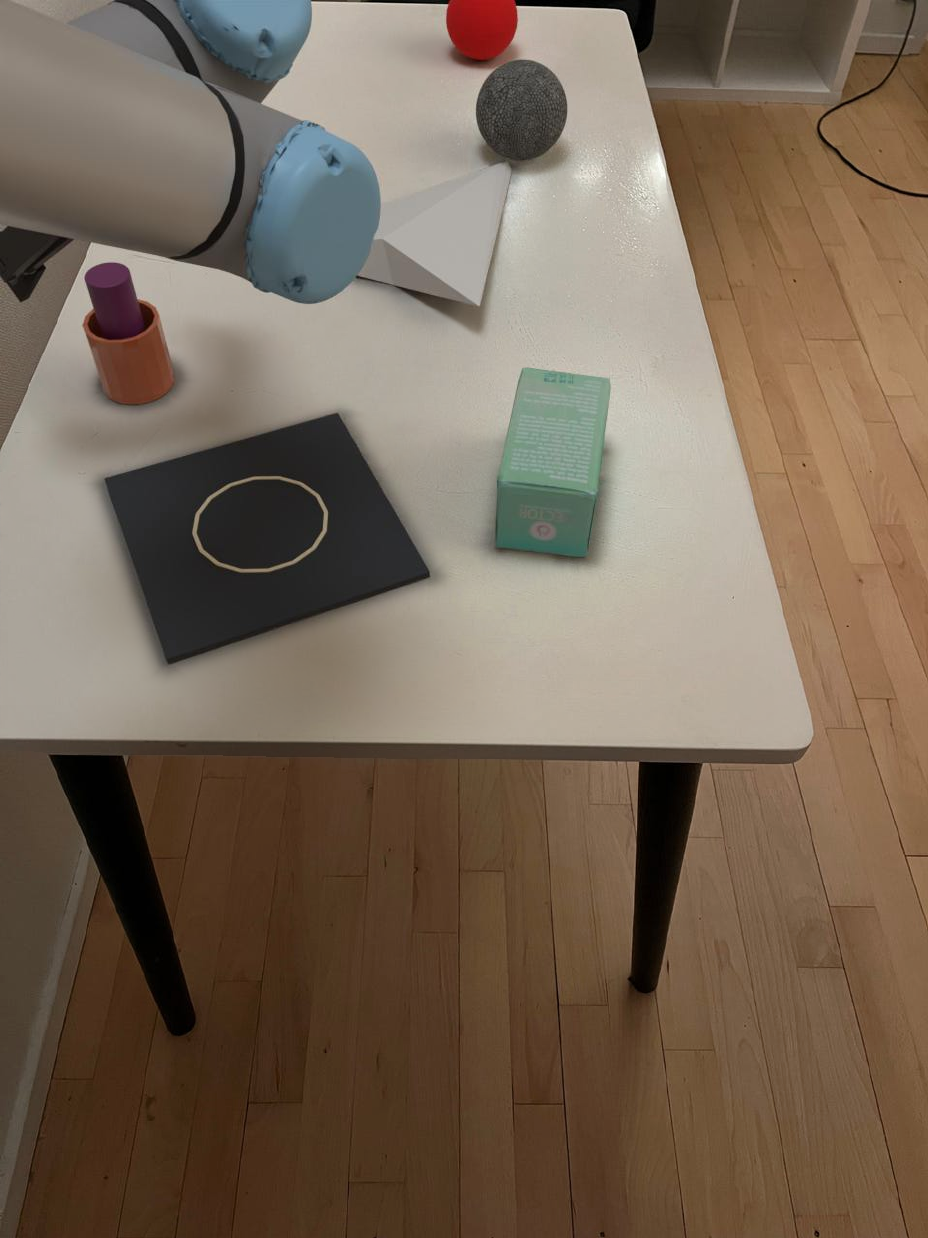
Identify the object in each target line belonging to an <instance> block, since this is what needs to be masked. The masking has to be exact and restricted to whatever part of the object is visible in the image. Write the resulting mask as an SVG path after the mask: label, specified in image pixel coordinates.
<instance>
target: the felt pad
mask: <svg viewBox="0 0 928 1238" xmlns="http://www.w3.org/2000/svg"><path fill="white" fill-rule="evenodd" d="M104 482H105V485H106V489H107V492H108V494H109V497H110V500H111V502H112V505H113V508H114V511H115V514H116V517H117V520H118V523H119V525H120V528H121V531H122V535H123V538H124V540H125V543H126V547H127V549H128V552H129V554H130V558H131V560H132V564H133V566H134V569H135V573H136V576H137V579H138V581H139V584H140V587H141V590H142V593H143V596H144V599H145V601H146V604H147V608H148V610H149V613H150V617H151V619H152V622H153V625H154V628H155V631H156V633H157V636H158V639H159V642H160V645H161V648H162V651H163V654H164V657H165V660H166V662H167V664H173V663H175V662H178V661H182V660H184V659H187V658H191V657H193V656H196V655H199V654H202V653H206V652H209V651H211V650H213V649H217V648H220V647H224V646H226V645H229V644H232V643H235V642H238V641H241V640H244V639H247V638H250V637H254V636H256V635H259V634H262V633H265V632H268V631H271V630H274V629H278V628H280V627H283V626H286V625H289V624H292V623H295V622H299V621H301V620H304V619H308V618H310V617H314V616H315V615H319V614H323V613H325V612H328V611H331V610H335V609H338V608H341V607H344V606H346V605H349V604H353V603H355V602H358V601H360V600H364V599H368V598H370V597H373V596H375V595H380V594H382V593H386V592H388V591H391V590H394V589H397V588H400V587H404V586H406V585H410V584H412V583H415V582H419V581H421V580H424V579H428V578H430V577H431V572H430V569H429V568H428V566H427V565H426V563H425V561H424V559H423V557H422V555H421V553H420V552H419V551H418V548H417V547H416V545H415V544H414V541H413V540H412V538H411V536H410V535H409V533H408V532H407V529H406V528H405V526H404V524H403V523H402V521H401V519H400V517H399V516H398V514H397V512H396V511H395V509H394V507H393V505H392V504H391V502H390V500H389V499H388V496H387V495H386V493H385V492H384V490H383V488H382V487H381V485H380V483H379V481H378V480H377V478H376V475H374V472H373V470H371V467H370V465H369V464H368V462H367V460H366V459H365V456H364V455H363V453H362V451H361V450H360V448H359V447H358V445H357V443H356V441H355V439H354V438H353V436H352V434H351V433H350V431H349V430H348V428H347V426H346V424H345V422H344V421H343V419H342V417H341V415H340V414H339V412H335V413H331V414H328V415H324V416H320V417H317V418H313V419H309V420H307V421H303V422H299V423H296V424H292V425H288V426H285V427H281V428H278V429H273V430H271V431H268V432H267V431H266V432H264V433H261V434H257V435H253V436H249V437H246V438H243V439H239V440H235V441H232V442H229V443H224V444H222V445H217V446H214V447H210V448H207V449H203V450H200V451H196V452H192V453H189V454H186V455H182V456H178V457H174V458H172V459H171V458H170V459H168V460H164V461H161V462H157V463H153V464H150V465H145V466H142V467H140V468H136V469H132V470H129V471H126V472H122V473H121V472H120V473H118V474H115V475H111V476H108V477H104Z"/></svg>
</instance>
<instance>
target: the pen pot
mask: <svg viewBox="0 0 928 1238" xmlns="http://www.w3.org/2000/svg"><path fill="white" fill-rule="evenodd" d="M137 299H138V303H139V307H140V311H141V314H142V318H143V322H144V325H145V329H146V331H144V332H142V333H140V334H139V335H137V336H135V337H131V338H127V339H122V340H108V339H104V338H103V337H102V334H101V331H100V328H99V324H98V321H97V318H96V315H95V311H94V308H93V307H92V309H91V310H90V311H89V312H88V313H87V314H86V315H85V316H84V319H83V323H82V328H83V331H84V334H85V338H86V341H87V343H88V346H89V350H90V353H91V357H92V359H93V362H94V366H95V368H96V371H97V374H98V377H99V380H100V384H101V387H102V389H103V392H104V394H105V395H106V396H107V397H108V398H109V399H110V400H112V401H114V402H116V403H119V404H123V405H134V406H135V405H143V404H147V403H150V402H154V401H156V400H158V399H160V398H162V397H163V396H165V395H166V394H167V393H168V392H169V391H170V390H171V389H172V388H173V385H174V383H175V371H174V367H173V363H172V359H171V355H170V352H169V348H168V344H167V340H166V336H165V333H164V328H163V324H162V321H161V316H160V314H159V311H158V309H157V308H156V306H154V305H153V304H151V303H150V302H148V301H146V300H142V299H139V298H137Z"/></svg>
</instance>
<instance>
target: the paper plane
mask: <svg viewBox="0 0 928 1238" xmlns="http://www.w3.org/2000/svg"><path fill="white" fill-rule="evenodd" d="M512 172H513V171H512V168H511V166H510V164H509V163H508V161H507V160H504V161H502V162H499V163H496V164H494V165H490V166H487V167H485V168H482V169H479V170H476V171H474V172H470V173H468V174H465V175H462V176H460V177H457V178H454V179H451V180H448V181H445V182H442V183H440V184H437V185H434V186H432V187H431V186H430V187H429V188H425V189H423V190H420V191H417V192H414V193H412V194H409V195H406V196H403V197H401V198H397V199H394V200H392V201H389V202H386V203H383V204H381V210H380V220H379V226H378V229H377V231H376V233H375V235H374V238H373V242H372V245H371V252H370V254H369V256H368V258H367V260H366V262H365V264H364V266H363V267H362V269H361V270H360V272H359V274H358V275H357V276H356V277H362V278H365V279H369V280H372V281H376V282H379V283H385V284H388V285H392V286H395V287H400V288H403V289H407V290H411V291H416V292H420V293H423V294H428V295H431V296H435V297H439V298H444V299H448V300H452V301H455V302H460V303H464V304H468V305H471V306H476V307H481V302H482V297H483V295H484V290H485V285H486V281H487V277H488V273H489V268H490V266H491V260H492V256H493V252H494V247H495V243H496V239H497V235H498V231H499V226H500V222H501V217H502V214H503V209H504V206H505V202H506V196H507V193H508V188H509V184H510V180H511V175H512Z"/></svg>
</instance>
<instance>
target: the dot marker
mask: <svg viewBox="0 0 928 1238" xmlns="http://www.w3.org/2000/svg"><path fill="white" fill-rule="evenodd" d="M84 283H85V285H86V289H87V292H88V296H89V299H90V302H91V305H92V309H93V308H94V311H95V315H96V318H97V321H98V324H99V328H100V331H101V334H102V337H103V338H104V339H108V340H122V339H127V338H131V337H135V336H137V335H139V334H140V333H142V332H144V331H146V329H145V325H144V322H143V318H142V314H141V311H140V307H139V303H138V299H139V298H138V295H137V292H136V289H135V285H134V282H133V277H132V274H131V270H130V268H129V267H128V266H127V265H125V264H123V263H120V262H113V261H111V262H101V263H100V264H96V265H94V266H92V267H90V268H89V269H88V270H87V271H86V272H85V274H84Z"/></svg>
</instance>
